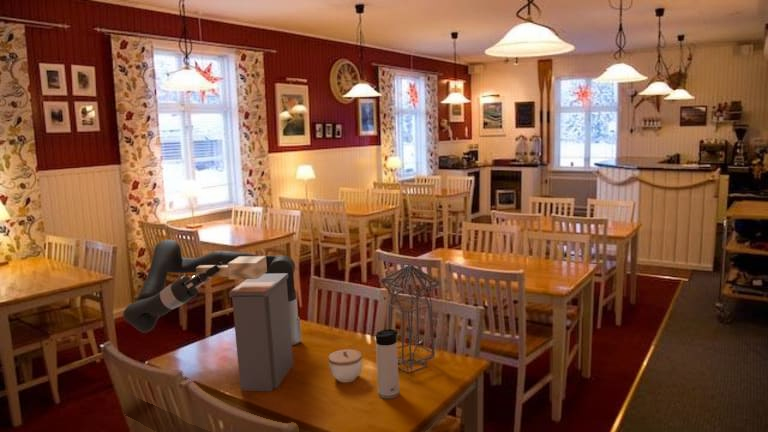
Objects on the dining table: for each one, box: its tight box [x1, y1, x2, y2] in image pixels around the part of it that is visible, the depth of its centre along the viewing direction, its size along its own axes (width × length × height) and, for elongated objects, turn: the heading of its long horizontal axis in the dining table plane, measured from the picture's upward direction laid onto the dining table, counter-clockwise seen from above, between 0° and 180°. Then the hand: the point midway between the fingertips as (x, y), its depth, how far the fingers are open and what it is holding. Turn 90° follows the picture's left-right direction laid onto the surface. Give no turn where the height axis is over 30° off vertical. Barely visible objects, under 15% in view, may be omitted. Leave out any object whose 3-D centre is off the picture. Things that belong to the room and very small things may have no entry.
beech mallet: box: [195, 255, 267, 280], centre depth 182 cm, size 21×9×5 cm, turn 82°
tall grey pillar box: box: [228, 273, 294, 392], centre depth 190 cm, size 12×22×32 cm, turn 172°
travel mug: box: [375, 328, 400, 400], centre depth 173 cm, size 6×7×20 cm
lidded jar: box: [328, 349, 363, 383], centre depth 187 cm, size 11×11×9 cm
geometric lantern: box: [378, 264, 441, 374], centre depth 191 cm, size 16×16×35 cm
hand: (220, 266), depth 182 cm, fingers closed on beech mallet, 3 cm apart
